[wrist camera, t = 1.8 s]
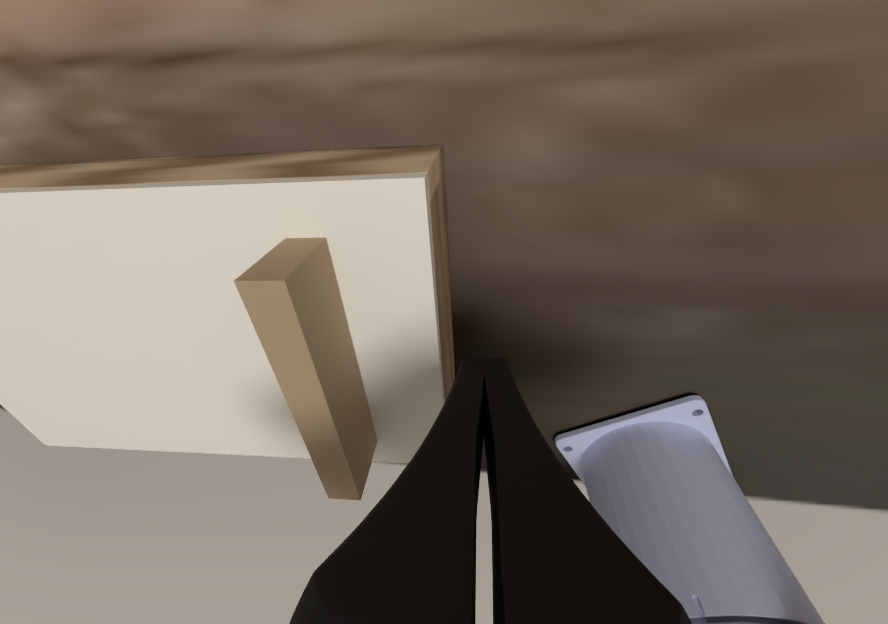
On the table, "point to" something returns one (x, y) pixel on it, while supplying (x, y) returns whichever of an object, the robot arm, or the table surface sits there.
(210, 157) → the mailer box
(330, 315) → the mailer lid
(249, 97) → the table surface
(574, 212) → the table surface
